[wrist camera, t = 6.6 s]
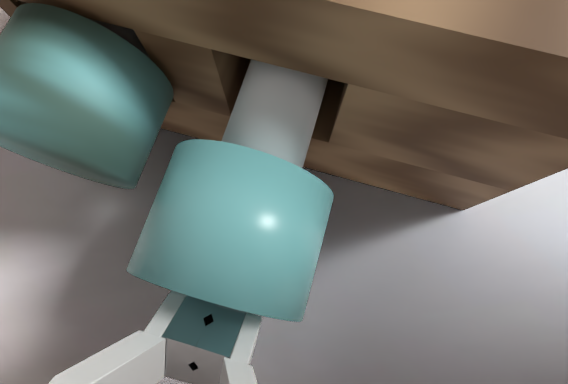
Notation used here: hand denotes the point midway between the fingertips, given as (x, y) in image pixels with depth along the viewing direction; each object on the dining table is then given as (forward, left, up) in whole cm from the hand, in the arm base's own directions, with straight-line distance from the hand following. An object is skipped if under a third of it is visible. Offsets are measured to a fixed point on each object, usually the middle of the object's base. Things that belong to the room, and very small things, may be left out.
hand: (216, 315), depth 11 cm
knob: (+3, -7, -3) cm, 8 cm away
